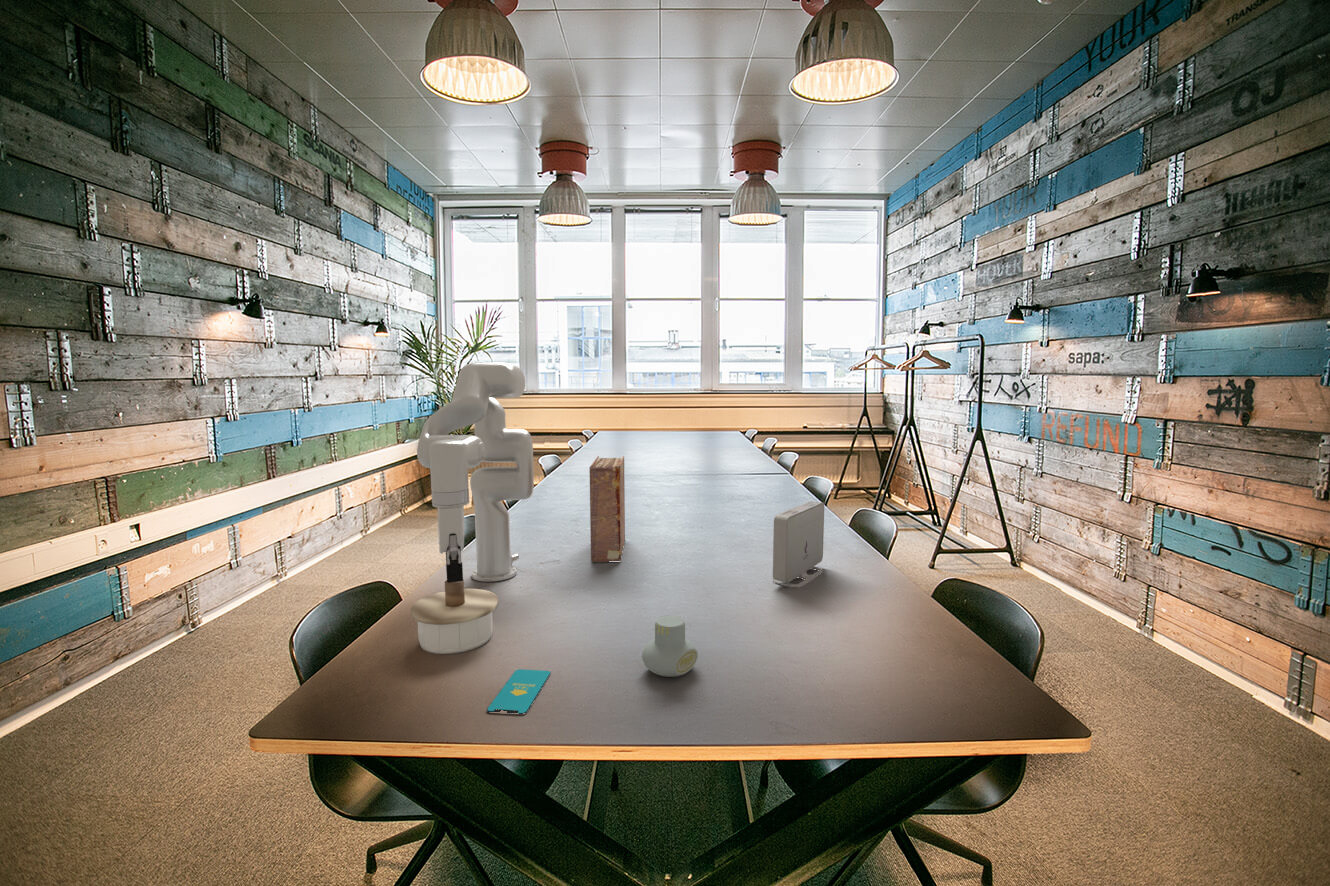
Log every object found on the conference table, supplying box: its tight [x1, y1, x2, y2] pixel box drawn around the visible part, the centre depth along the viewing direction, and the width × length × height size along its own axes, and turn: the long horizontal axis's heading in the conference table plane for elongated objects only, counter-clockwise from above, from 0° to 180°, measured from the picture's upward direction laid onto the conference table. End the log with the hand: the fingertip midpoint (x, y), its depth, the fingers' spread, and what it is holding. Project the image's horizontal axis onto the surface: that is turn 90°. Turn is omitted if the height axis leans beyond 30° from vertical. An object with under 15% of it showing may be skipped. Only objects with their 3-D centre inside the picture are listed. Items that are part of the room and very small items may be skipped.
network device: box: [772, 500, 825, 588], centre depth 170 cm, size 26×9×20 cm, turn 143°
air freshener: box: [641, 615, 699, 678], centre depth 116 cm, size 11×8×10 cm
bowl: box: [417, 611, 494, 655], centre depth 131 cm, size 15×15×7 cm
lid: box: [410, 578, 499, 625], centre depth 130 cm, size 18×18×6 cm
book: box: [589, 455, 626, 563], centre depth 195 cm, size 25×9×30 cm, turn 1°
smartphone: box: [486, 668, 552, 714], centre depth 109 cm, size 7×1×15 cm
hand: (454, 573), depth 130 cm, fingers open, 9 cm apart
